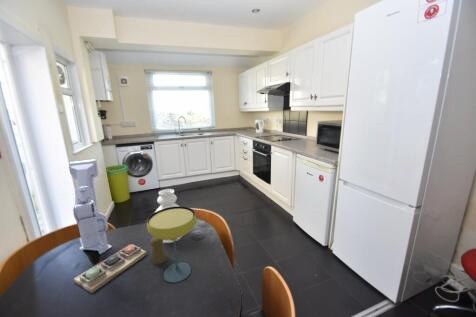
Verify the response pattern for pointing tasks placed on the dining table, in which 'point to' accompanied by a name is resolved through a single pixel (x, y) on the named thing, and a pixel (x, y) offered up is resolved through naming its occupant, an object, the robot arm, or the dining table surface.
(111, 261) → the charcoal button
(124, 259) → the button board
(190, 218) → the cocktail glass
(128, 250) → the terracotta button
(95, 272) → the sage button
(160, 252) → the cork
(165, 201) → the decorative vase
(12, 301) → the dining table surface
